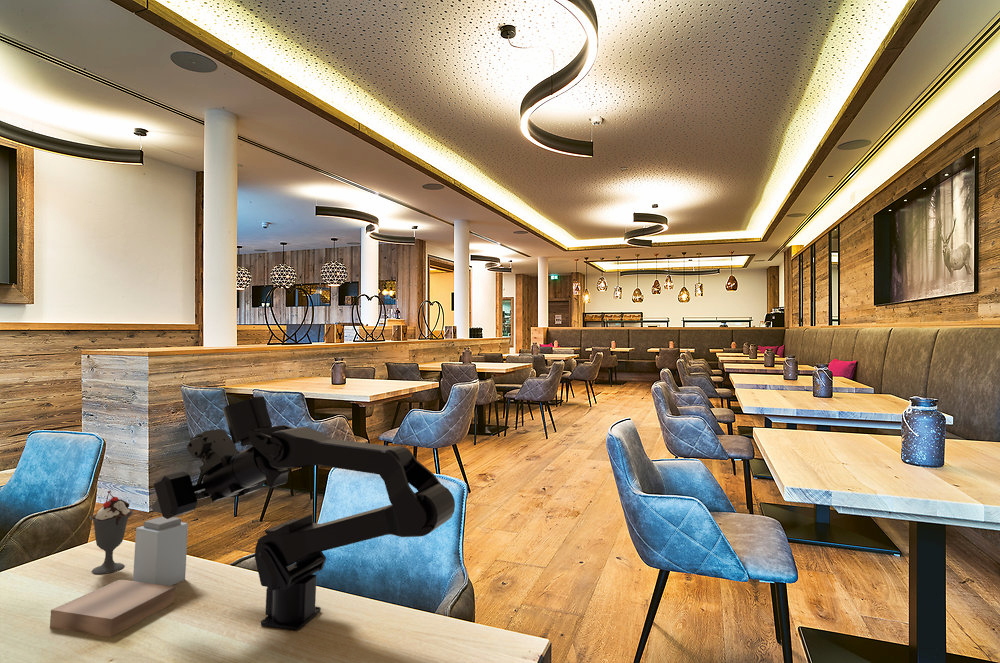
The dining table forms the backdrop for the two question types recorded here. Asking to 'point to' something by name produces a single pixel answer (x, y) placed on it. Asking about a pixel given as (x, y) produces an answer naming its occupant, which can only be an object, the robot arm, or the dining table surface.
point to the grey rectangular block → (161, 551)
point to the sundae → (110, 531)
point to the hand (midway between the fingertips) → (178, 501)
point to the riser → (112, 607)
